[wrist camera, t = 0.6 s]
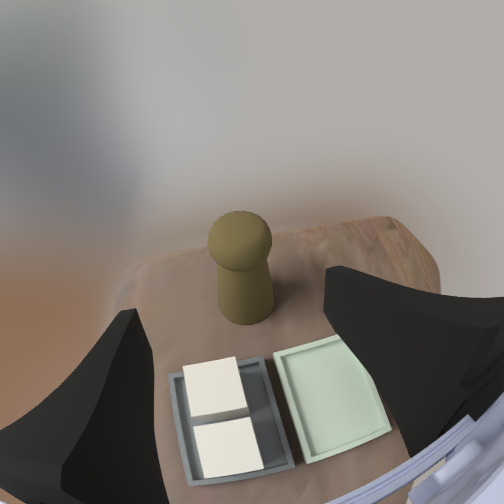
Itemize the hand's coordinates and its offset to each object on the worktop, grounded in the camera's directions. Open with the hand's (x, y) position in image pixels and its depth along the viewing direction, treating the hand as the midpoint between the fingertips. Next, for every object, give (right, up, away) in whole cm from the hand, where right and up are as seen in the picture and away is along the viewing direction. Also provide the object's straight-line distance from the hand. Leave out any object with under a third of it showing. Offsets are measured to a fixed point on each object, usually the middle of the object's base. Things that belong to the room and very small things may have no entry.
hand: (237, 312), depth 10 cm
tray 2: (+8, -11, +12) cm, 18 cm away
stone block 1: (-2, -11, +12) cm, 17 cm away
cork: (0, -3, +20) cm, 20 cm away
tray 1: (-2, -13, +11) cm, 17 cm away
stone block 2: (-1, -14, +9) cm, 17 cm away
